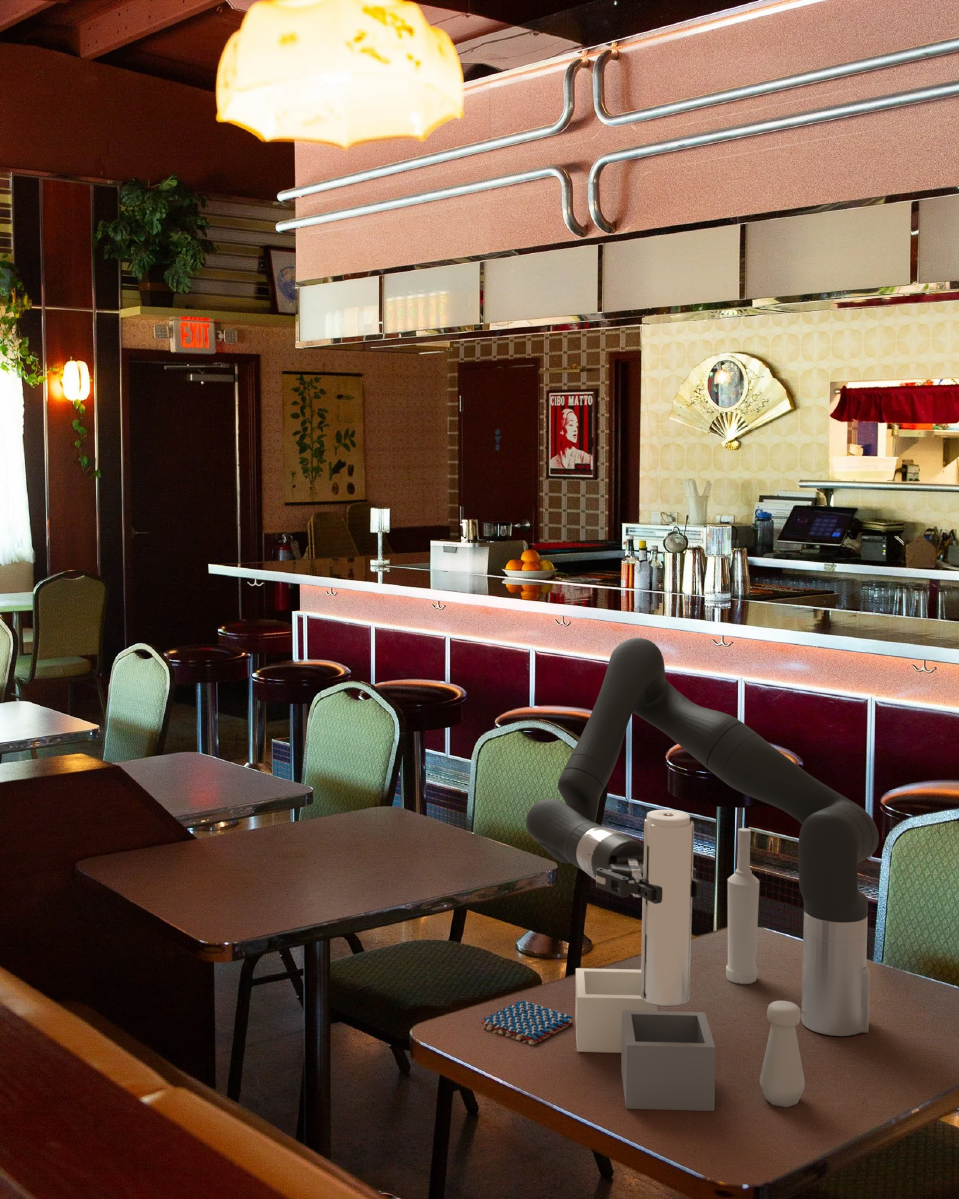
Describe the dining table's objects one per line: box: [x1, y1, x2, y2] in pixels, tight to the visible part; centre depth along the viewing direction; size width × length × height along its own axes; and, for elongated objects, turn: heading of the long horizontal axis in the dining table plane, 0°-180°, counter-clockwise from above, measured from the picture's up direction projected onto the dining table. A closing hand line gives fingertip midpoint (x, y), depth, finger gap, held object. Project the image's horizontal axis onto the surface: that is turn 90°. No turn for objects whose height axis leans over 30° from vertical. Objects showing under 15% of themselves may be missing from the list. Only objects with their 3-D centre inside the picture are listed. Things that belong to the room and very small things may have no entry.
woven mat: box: [481, 1000, 574, 1046], centre depth 195 cm, size 10×11×2 cm
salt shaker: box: [759, 1000, 806, 1108], centre depth 171 cm, size 6×6×13 cm
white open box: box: [574, 967, 659, 1054], centre depth 191 cm, size 11×11×8 cm
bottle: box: [725, 827, 760, 985], centre depth 213 cm, size 5×5×25 cm
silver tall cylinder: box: [640, 809, 695, 1007], centre depth 172 cm, size 6×6×25 cm
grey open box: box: [620, 1010, 716, 1112], centre depth 174 cm, size 11×11×8 cm
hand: (678, 893), depth 170 cm, fingers closed on silver tall cylinder, 5 cm apart
